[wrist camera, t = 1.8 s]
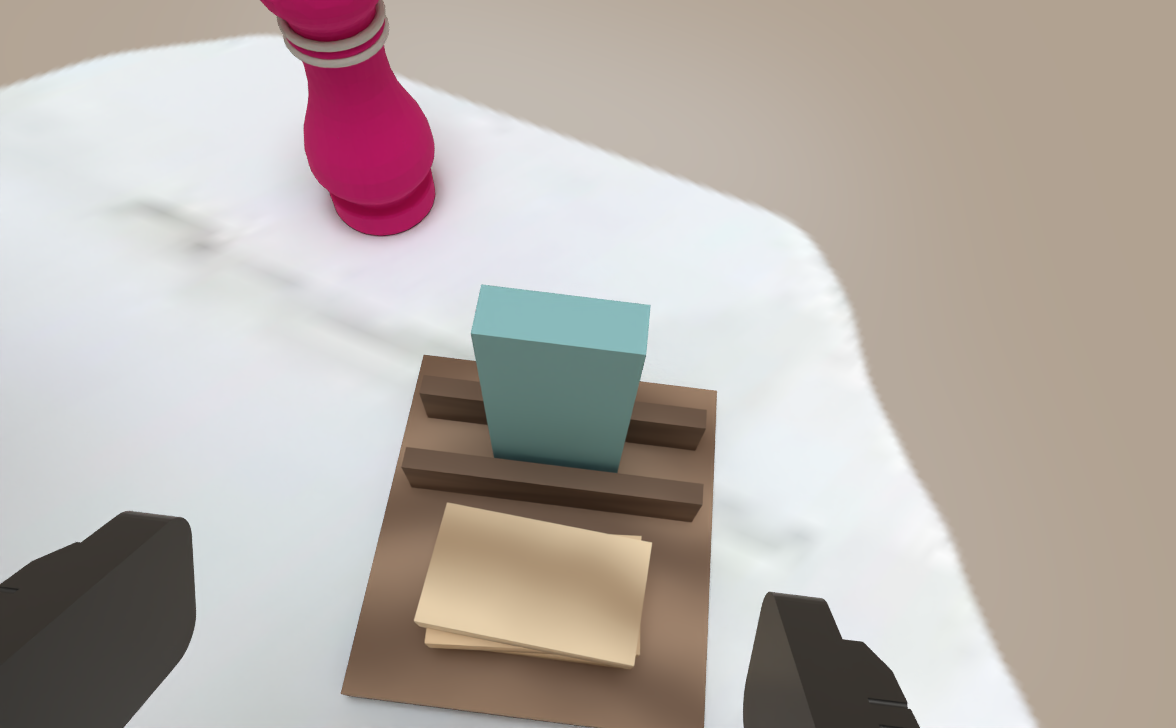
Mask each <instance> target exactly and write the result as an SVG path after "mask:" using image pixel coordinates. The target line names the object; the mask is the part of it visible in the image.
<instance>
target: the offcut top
mask: <svg viewBox="0 0 1176 728" xmlns="http://www.w3.org/2000/svg"><path fill="white" fill-rule="evenodd" d="M651 547H652V542H646V541H641V540H636V539H631V538H626V537H621V536H616V535H611V534H606V533H601V532H595V531H590V530H585V529H580V528H575V527H570V526H565V525H560V524H555V523H550V522H545V521H539V520H534V519H529V518H524V517H519V516H514V515H509V514H504V513H499V512H494V511H489V510H483V509H478V508H473V507H468V506H463V505H458V504H453V503H448V502H447V505H446V508H445V512H444V515H443V519H442V522H441V526H440V529H439V533H438V536H437V540H436V544H435V547H434V551H433V554H432V558H431V561H430V565H429V568H428V572H427V576H426V579H425V583H424V586H423V590H422V593H421V597H420V600H419V604H418V608H417V611H416V615H415V618H414V622H415V623H416V624H417V625H418V626H419V627H424V628H429V629H434V630H439V631H444V632H449V633H454V634H459V635H463V636H468V637H473V638H478V639H483V640H488V641H493V642H498V643H503V644H508V645H512V646H517V647H522V648H527V649H532V650H537V651H542V652H547V653H552V654H557V655H561V656H566V657H571V658H576V659H581V660H586V661H591V662H596V663H601V664H606V665H610V666H615V667H620V668H625V669H630V670H631V669H632V668H633V666H634V663H635V656H636V650H637V643H638V636H639V629H640V622H641V615H642V609H643V602H644V595H645V588H646V581H647V574H648V568H649V561H650V554H651Z"/></svg>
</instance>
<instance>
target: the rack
mask: <svg viewBox="0 0 1176 728" xmlns="http://www.w3.org/2000/svg"><path fill="white" fill-rule="evenodd" d="M716 402H717V391H714V390H706V389H697V388H689V387H681V386H673V385H665V384H657V383H649V382H641V381H640V382H639V386H638V390H637V394H636V398H635V402H634V406H633V411H632V415H631V419H630V423H629V427H628V431H627V435H626V439H625V443H624V447H623V451H622V455H621V460H620V464H619V468H618V472H617V473H612V472H604V471H596V470H588V469H580V468H571V467H563V466H555V465H547V464H539V463H531V462H523V461H515V460H507V459H499V458H494V455H493V450H492V445H491V439H490V434H489V428H488V423H487V418H486V412H485V407H484V402H483V396H482V391H481V385H480V380H479V375H478V369H477V364H476V361H470V360H462V359H454V358H446V357H438V356H430V355H424V356H423V360H422V364H421V368H420V372H419V376H418V380H417V384H416V388H415V392H414V396H413V401H412V405H411V409H410V413H409V417H408V421H407V425H406V429H405V433H404V437H403V441H402V445H401V450H400V454H399V458H398V462H397V466H396V470H395V474H394V478H393V482H392V486H391V490H390V494H389V499H388V503H387V507H386V511H385V515H384V519H383V523H382V527H381V531H380V535H379V539H378V543H377V547H376V552H375V556H374V560H373V564H372V568H371V572H370V576H369V580H368V584H367V588H366V592H365V596H364V601H363V605H362V609H361V613H360V617H359V621H358V625H357V629H356V633H355V637H354V641H353V645H352V650H351V654H350V658H349V662H348V666H347V670H346V674H345V678H344V682H343V686H342V690H341V694H343V695H347V696H352V697H360V698H368V699H375V700H383V701H391V702H399V703H407V704H414V705H422V706H430V707H438V708H445V709H453V710H461V711H469V712H476V713H484V714H492V715H500V716H508V717H515V718H523V719H531V720H539V721H546V722H554V723H562V724H570V725H578V726H585V727H593V728H704V712H705V686H706V660H707V634H708V608H709V583H710V557H711V531H712V505H713V479H714V453H715V427H716ZM447 502H448V503H453V504H458V505H463V506H468V507H473V508H478V509H483V510H489V511H494V512H499V513H504V514H509V515H514V516H519V517H524V518H529V519H534V520H539V521H545V522H550V523H555V524H560V525H565V526H570V527H575V528H580V529H585V530H590V531H595V532H601V533H606V534H613V535H631V536H641V541H646V542H652V547H651V554H650V561H649V568H648V574H647V581H646V588H645V595H644V602H643V609H642V615H641V622H640V655H639V656H638V657H637V658H636V659H635V663H634V666H633V668H632V669H631V670H630V669H622V668H614V667H606V666H599V665H591V664H583V663H575V662H567V661H559V660H552V659H544V658H536V657H528V656H520V655H512V654H505V653H497V652H489V651H481V650H463V649H444V648H429V647H428V646H427V645H426V644H425V635H426V628H424V627H419V626H418V625H417V624H416V623H415V622H414V618H415V615H416V611H417V608H418V604H419V600H420V597H421V593H422V590H423V586H424V583H425V579H426V576H427V572H428V568H429V565H430V561H431V558H432V554H433V551H434V547H435V544H436V540H437V536H438V533H439V529H440V526H441V522H442V519H443V515H444V512H445V508H446V505H447Z"/></svg>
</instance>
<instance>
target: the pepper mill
mask: <svg viewBox="0 0 1176 728" xmlns="http://www.w3.org/2000/svg"><path fill="white" fill-rule="evenodd" d="M260 1H261V2H262V3H263V4H264V5H265V6H266V7H267V8H268V9H269V10H270V11H271V12H273V13H274V14H275V15H276V16H277V22H278V26H279V28H280V30H281V32H282V34H283V38H284V42H285V44H286V47H287V48H288V49H289V50H290V52H291V53H292V54H293V55H294V56H295V57H297V58H298V59H299V60H301V61H302V62H303V64H304V67H305V72H306V76H307V80H308V93H309V96H308V104H307V110H306V116H305V121H304V147H305V152H306V155H307V159H308V163H309V166H310V168H311V171H312V173H313V174H314V176H315V178H316V179H317V180H318V182H319V183H320V184H321V185H322V186H323V187H325V188H326V189H327V190H328V191H329V192H330V196H331V198H332V201H333V203H334V206H335V208H336V211H337V213H338V215H339V216H340V218H341V219H342V220H343V221H344V222H345V223H346V224H347V225H349V226H350V227H352V228H354V229H355V230H357V231H360V232H363V233H365V234H372V235H380V236H382V235H391V234H397V233H399V232H402V231H405V230H408V229H410V228H411V227H413V226H414V225H416V224H417V223H419V222H420V221H421V220H422V219H423V218H424V217H425V216H426V215H427V214H428V212H429V211H430V209H431V207H432V205H433V202H434V198H435V187H434V182H433V177H432V172H431V166H432V163H433V159H434V149H435V148H434V140H433V136H432V133H431V129H430V126H429V123H428V120H427V118H426V117H425V115H424V113H423V112H422V110H421V108H420V107H419V105H418V104H417V102H416V101H415V100H414V99H413V98H412V96H411V95H410V94H409V93H408V92H407V91H406V90H405V89H404V88H403V87H402V85H401V84H400V83H399V82H398V81H397V79H396V77H395V75H394V73H393V71H392V70H391V68H390V65H389V62H388V59H387V56H386V53H385V49H384V43H385V42H386V39H387V37H388V33H389V23H388V19H387V17H386V15H385V5H384V2H383V0H260Z"/></svg>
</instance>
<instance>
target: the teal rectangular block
mask: <svg viewBox="0 0 1176 728" xmlns="http://www.w3.org/2000/svg"><path fill="white" fill-rule="evenodd" d="M650 306H651V305H645V304H637V303H629V302H620V301H612V300H604V299H596V298H588V297H580V296H571V295H563V294H555V293H547V292H539V291H530V290H522V289H514V288H506V287H498V286H489V285H481V289H480V293H479V298H478V303H477V307H476V312H475V316H474V321H473V326H472V330H471V337H472V342H473V348H474V353H475V358H476V364H477V369H478V375H479V380H480V385H481V391H482V396H483V402H484V407H485V412H486V418H487V423H488V428H489V434H490V439H491V445H492V450H493V455H494V458H499V459H507V460H515V461H523V462H531V463H539V464H547V465H555V466H563V467H571V468H580V469H588V470H596V471H604V472H612V473H617V472H618V468H619V464H620V460H621V455H622V451H623V447H624V443H625V439H626V435H627V431H628V427H629V423H630V419H631V415H632V411H633V406H634V402H635V398H636V394H637V390H638V386H639V382H640V378H641V374H642V370H643V366H644V361H645V357H646V350H647V339H648V328H649V317H650Z"/></svg>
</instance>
